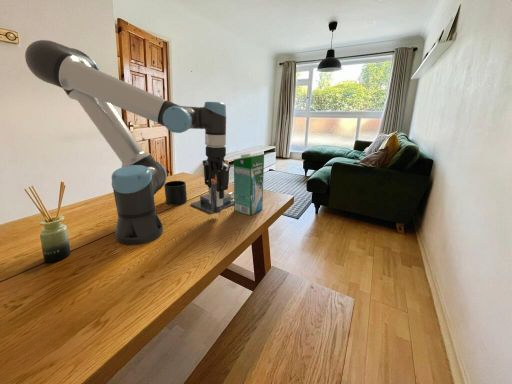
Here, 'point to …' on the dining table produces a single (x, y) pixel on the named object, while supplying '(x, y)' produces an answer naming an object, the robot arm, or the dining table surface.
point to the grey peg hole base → (206, 206)
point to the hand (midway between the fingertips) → (216, 204)
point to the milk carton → (248, 183)
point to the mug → (175, 192)
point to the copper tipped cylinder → (214, 196)
